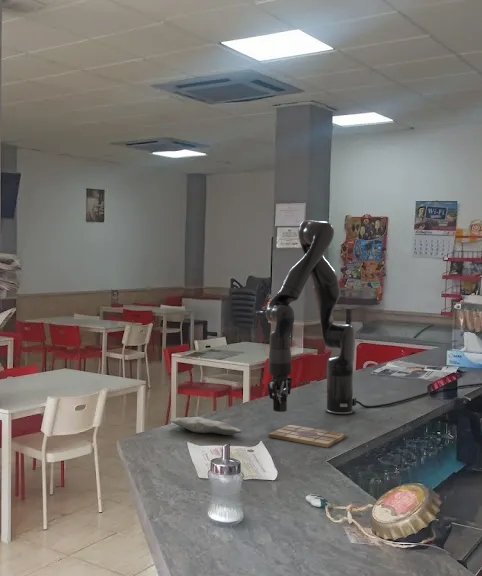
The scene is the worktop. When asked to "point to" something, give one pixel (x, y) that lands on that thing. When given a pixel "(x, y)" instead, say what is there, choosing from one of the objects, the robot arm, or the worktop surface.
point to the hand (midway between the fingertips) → (280, 408)
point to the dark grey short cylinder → (282, 406)
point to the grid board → (308, 435)
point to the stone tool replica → (205, 425)
